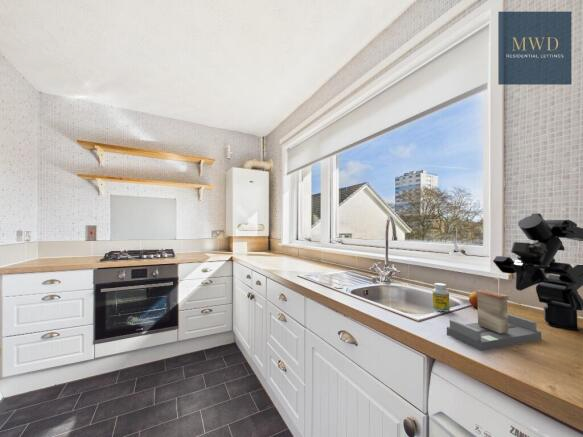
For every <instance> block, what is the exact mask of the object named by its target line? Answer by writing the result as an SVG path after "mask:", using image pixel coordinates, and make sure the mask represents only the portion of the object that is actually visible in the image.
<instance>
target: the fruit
mask: <svg viewBox="0 0 583 437" xmlns="http://www.w3.org/2000/svg"><path fill="white" fill-rule="evenodd" d="M479 290H480V289H478V290H474V291H472V292H470V294H469V296H468V302H469V303H470V304H471V306H472V307H474V308H475V309H478V302H477V294H476V291H479Z"/></svg>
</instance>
